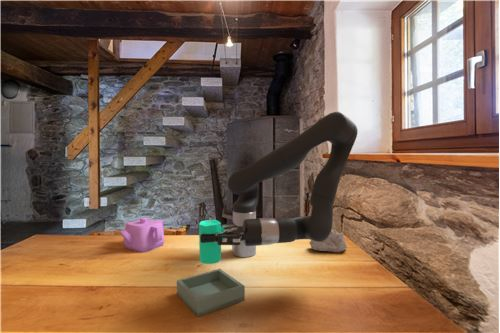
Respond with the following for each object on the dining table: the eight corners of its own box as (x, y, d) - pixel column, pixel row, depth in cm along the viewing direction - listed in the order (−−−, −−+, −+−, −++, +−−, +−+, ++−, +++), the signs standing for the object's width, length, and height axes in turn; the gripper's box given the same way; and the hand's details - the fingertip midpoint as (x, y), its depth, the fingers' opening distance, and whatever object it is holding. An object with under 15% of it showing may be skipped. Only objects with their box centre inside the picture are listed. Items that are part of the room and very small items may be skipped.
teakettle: (163, 251, 117) (162, 221, 117) (118, 254, 113) (117, 224, 113) (165, 238, 134) (164, 212, 133) (126, 241, 130) (126, 214, 129)
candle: (205, 255, 83) (204, 214, 82) (224, 256, 82) (223, 215, 81) (196, 262, 77) (195, 219, 77) (216, 264, 76) (215, 220, 75)
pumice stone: (345, 248, 120) (345, 224, 120) (349, 254, 113) (349, 229, 112) (308, 246, 122) (308, 223, 122) (310, 252, 115) (310, 228, 114)
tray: (177, 293, 82) (176, 280, 82) (219, 281, 90) (219, 268, 90) (197, 316, 70) (197, 301, 70) (244, 299, 78) (244, 285, 78)
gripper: (255, 213, 88) (199, 216, 85) (266, 225, 74) (200, 229, 71) (255, 237, 89) (200, 240, 86) (266, 253, 75) (200, 258, 72)
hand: (200, 235), depth 79 cm, fingers closed on candle, 5 cm apart
